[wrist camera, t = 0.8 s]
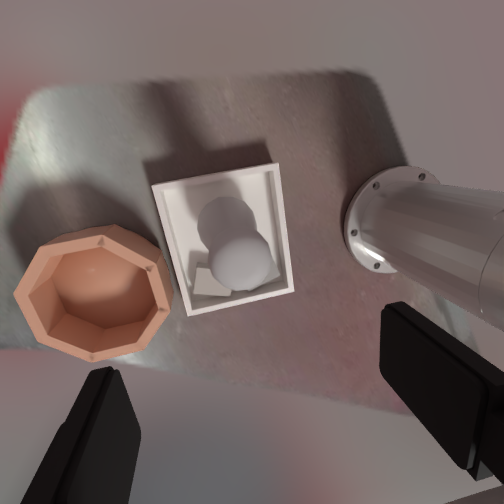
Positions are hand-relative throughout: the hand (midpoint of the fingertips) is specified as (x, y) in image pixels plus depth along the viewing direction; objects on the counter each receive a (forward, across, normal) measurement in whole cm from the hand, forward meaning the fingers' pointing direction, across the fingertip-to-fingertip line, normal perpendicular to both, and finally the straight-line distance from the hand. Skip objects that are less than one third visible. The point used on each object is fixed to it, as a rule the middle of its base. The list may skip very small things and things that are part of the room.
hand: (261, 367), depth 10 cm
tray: (+22, -1, +2) cm, 22 cm away
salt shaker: (+22, -1, 0) cm, 22 cm away
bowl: (+22, +12, +4) cm, 25 cm away
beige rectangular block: (+22, +2, +6) cm, 22 cm away
